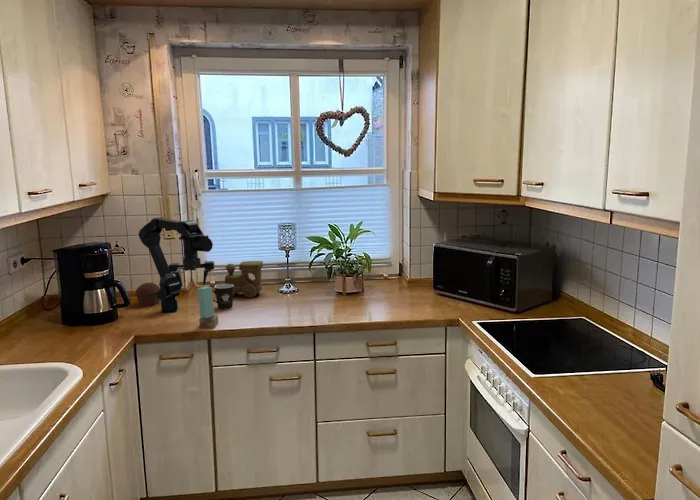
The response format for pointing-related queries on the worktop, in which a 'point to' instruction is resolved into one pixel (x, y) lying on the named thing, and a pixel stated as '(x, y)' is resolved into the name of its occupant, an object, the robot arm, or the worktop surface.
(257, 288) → the wooden toy train
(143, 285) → the muffin
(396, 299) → the worktop surface
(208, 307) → the tall block
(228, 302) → the coffee mug
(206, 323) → the base block
